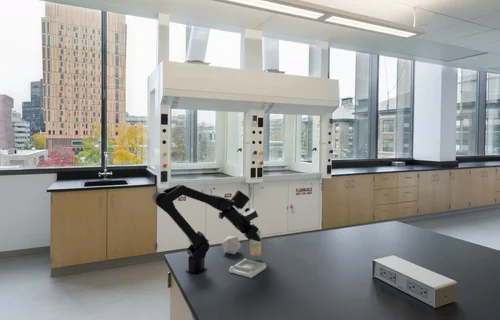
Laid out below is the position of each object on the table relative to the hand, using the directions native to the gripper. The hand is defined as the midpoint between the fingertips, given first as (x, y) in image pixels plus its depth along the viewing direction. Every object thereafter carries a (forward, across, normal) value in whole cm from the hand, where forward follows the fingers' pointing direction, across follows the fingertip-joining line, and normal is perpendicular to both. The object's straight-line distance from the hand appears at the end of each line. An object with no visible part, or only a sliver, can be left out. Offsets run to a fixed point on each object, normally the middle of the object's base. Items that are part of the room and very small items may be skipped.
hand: (258, 239), depth 146 cm
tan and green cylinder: (+4, 0, +6) cm, 7 cm away
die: (0, +13, +13) cm, 19 cm away
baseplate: (+1, -9, +12) cm, 15 cm away
